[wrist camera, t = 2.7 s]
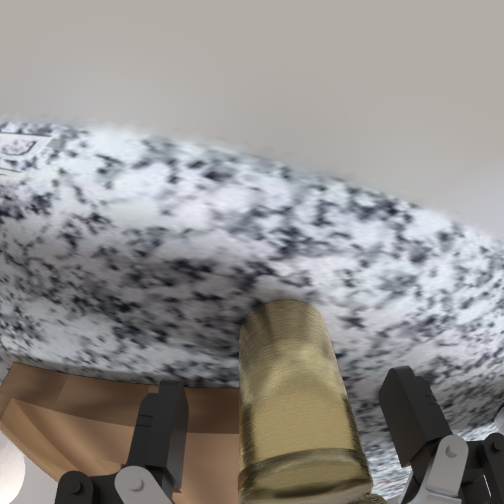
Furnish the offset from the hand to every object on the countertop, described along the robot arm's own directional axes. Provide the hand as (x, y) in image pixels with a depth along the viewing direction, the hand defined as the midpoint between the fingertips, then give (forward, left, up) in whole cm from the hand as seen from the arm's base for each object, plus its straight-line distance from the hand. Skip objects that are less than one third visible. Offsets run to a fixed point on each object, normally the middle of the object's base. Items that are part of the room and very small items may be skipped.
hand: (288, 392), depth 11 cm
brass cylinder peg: (0, 0, -4) cm, 4 cm away
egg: (+31, +20, -4) cm, 37 cm away
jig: (+10, +13, -4) cm, 17 cm away
